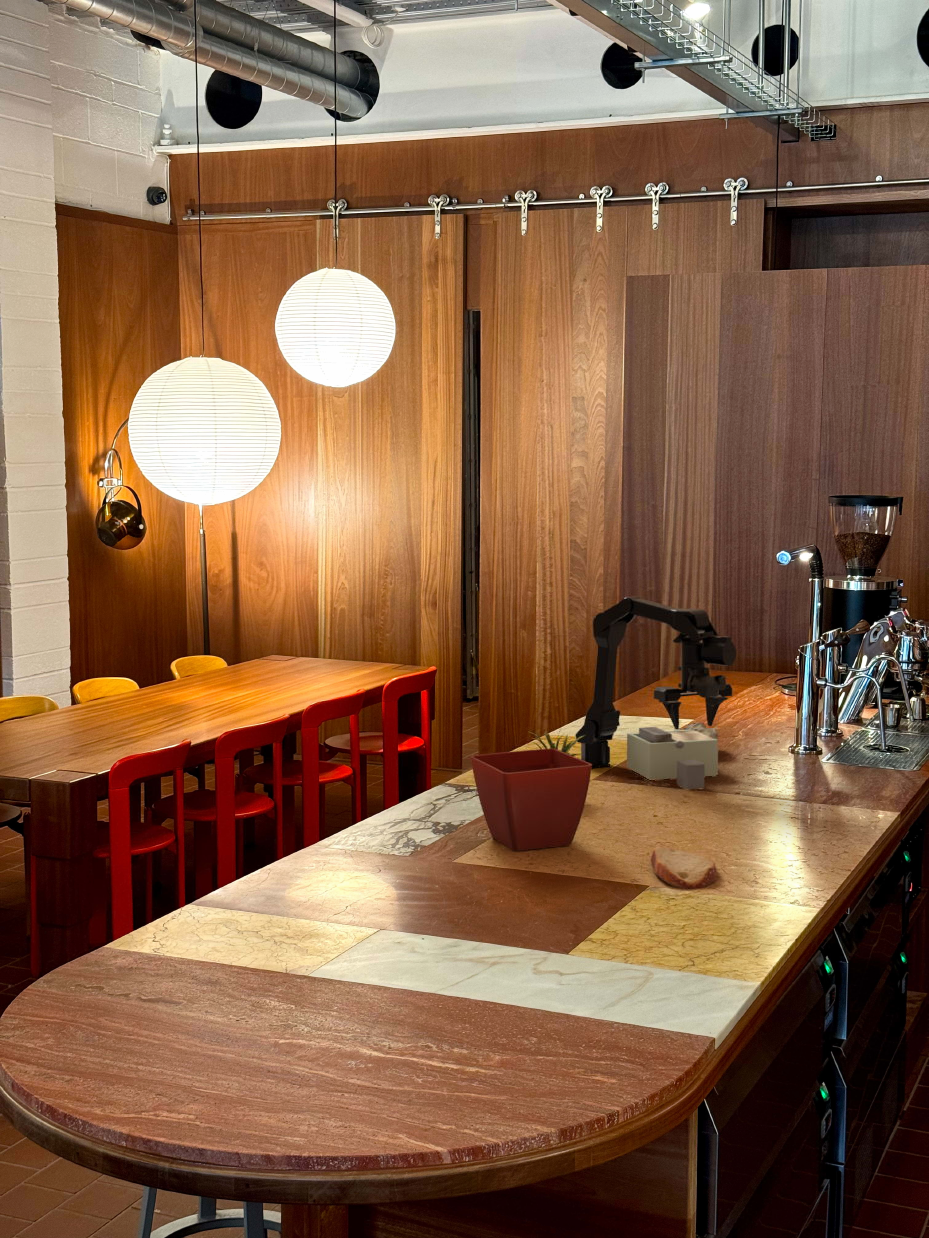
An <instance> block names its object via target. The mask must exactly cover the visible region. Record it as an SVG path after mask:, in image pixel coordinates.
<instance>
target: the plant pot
mask: <svg viewBox="0 0 929 1238" xmlns="http://www.w3.org/2000/svg"><path fill="white" fill-rule="evenodd" d="M560 750H561V749H558V750H557V749H552V748H550V747H549V748H548V749H545V748H542V749H540V748H539V749H538V748H536V749H526V750H515V751H504V752H496V753H495V752H494V753H486V754H475V755H470V760H471V767H472V773H473V778H474V784H475V787H476V791H477V795H478V799H479V803H480V807H481V811H482V813H483V815H484V819H485V822H486V825H487V827H488V829H489V830H488V831H489V833H490V836H491V837H492V838H493V839H494V840H496V841H497V840H498V841H497V842H499V843H500V844H502V845H504V846H505V847H507V848H508V849H510V850H512V851H514V852H521V851H528V850H529V849H530V850H537V849H544V848H545V849H546V848H547V847H548V848H553V847H555V846H556V847H563V845H565V846H569V845H572V843H573V841H574V838H575V836H576V833H577V831H578V827H579V825H580V822H581V819H582V815H583V812H584V807H585V804H586V800H587V797H588V793H589V792H588V791H589V787H590V781H591V775H592V768H593V767H592V764H590V763H588V762H585V761H583V760H581V758H579V757H576V756H571V754H570V753H569V754H570V755H569V754H567V753H564V752H562V751H560ZM548 848H547V849H548Z"/></svg>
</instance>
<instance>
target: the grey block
mask: <svg viewBox="0 0 929 1238" xmlns="http://www.w3.org/2000/svg"><path fill="white" fill-rule="evenodd" d="M677 784H678V785H679V786H681V787H683V788H685V789H698V788H704V789H705V777H704V764H703V763H701V762H699V761H696V760H681V761H677V779H676V785H677ZM679 786H678V787H679ZM681 787H680V788H681ZM683 788H682V789H683ZM685 789H684V790H685Z"/></svg>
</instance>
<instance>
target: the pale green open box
mask: <svg viewBox="0 0 929 1238" xmlns="http://www.w3.org/2000/svg"><path fill="white" fill-rule="evenodd" d="M665 731H666V732H668V733H672V732H688V731H695V730H693V729H692V730H683V729H681V730H676V731H674V730H665ZM681 760H696V761H699V762H701V763H703V764H704V776H712V777H715V776H714V775H718V776H719V772H718V771H719V767H718V766H719V740H718V739H708V740H692V741H676V742H661V743H650V742H648V741H646V740H644V739H642V738H640V737H639V732H631V733H629V732H628V733H626V768H627V767H628V768H630V769H631V770H633V771H635V772H637V773H639V774H640V775H643V776H644V777H646V778H647V779H649V780H650V779H669V778H677V761H681ZM647 779H646V780H647ZM649 780H648V781H649Z"/></svg>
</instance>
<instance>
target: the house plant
mask: <svg viewBox="0 0 929 1238" xmlns="http://www.w3.org/2000/svg"><path fill="white" fill-rule="evenodd" d="M561 730H562V728H560V729H559V732H558V733H557V736H559V735H560V732H561ZM529 733H531V734H533V735H534V736H536V737H535V738H534V737H532V739H533V740H537V742H539V743H540V744H541V745H542V747H543V748H542V747H541V746H540V745H539V744H538V743H536V742H533V741H531V743H533V744H535V746H537V747H538V748H539V749H550V748H552V749H557V750H560V751H562V752H564V753H567V754H569V755H571V756H574V757H576V756H577V755H578V756H579V755H580V756H581V753H569V751H570V750H571V749H572V747H574V746H575V744H576V743H578V742H577V741H578V740H579V739H580V738H581V737H583V736H581V737H579V738H577V739H575V740H573V741H570V742H569V743H567V742H568V735H566V736H565V738H564V740H563V744H562V747H561V749H559V744H560V740H561V738H562V737H563V736H564V735H565V733H566V732H564V733H562V735H560V736H559V737H557V738H556V743H555V742H553V741H552V739H551V736H550V733H549V732H547V731H546V730H544V732H543V735H544V736H545V738H546V740H547V743H548V745H549V748H548V746H547V745H546V744H545V743H544V742H543V740H542V739H541V737H540V736H539V735H537V734H536V733H534V732H530V731H529ZM584 736H585V735H584Z"/></svg>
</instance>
